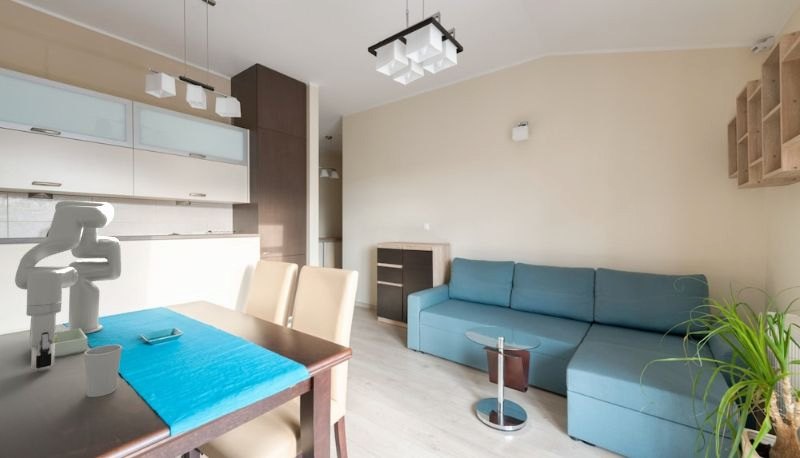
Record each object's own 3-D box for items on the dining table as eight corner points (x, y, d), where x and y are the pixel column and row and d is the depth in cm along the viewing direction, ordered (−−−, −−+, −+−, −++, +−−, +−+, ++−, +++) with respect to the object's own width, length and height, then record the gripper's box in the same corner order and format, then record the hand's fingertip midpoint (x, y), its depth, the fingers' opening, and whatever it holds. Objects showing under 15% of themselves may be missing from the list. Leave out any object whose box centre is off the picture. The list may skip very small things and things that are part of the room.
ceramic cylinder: (33, 365, 104) (34, 343, 104) (56, 362, 107) (56, 341, 107) (28, 371, 100) (29, 349, 100) (51, 367, 103) (52, 346, 103)
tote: (30, 349, 120) (31, 335, 120) (79, 340, 131) (80, 328, 131) (33, 361, 110) (34, 347, 110) (87, 351, 120) (87, 337, 120)
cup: (127, 385, 96) (129, 345, 96) (100, 399, 88) (102, 355, 88) (103, 383, 96) (105, 343, 96) (74, 397, 88) (76, 353, 88)
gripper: (25, 305, 106) (23, 359, 106) (28, 316, 95) (26, 376, 95) (58, 301, 112) (56, 353, 112) (64, 311, 101) (62, 368, 101)
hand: (42, 363), depth 104 cm, fingers closed on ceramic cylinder, 5 cm apart
